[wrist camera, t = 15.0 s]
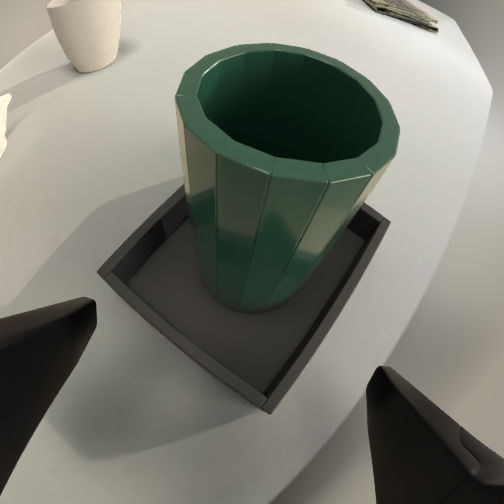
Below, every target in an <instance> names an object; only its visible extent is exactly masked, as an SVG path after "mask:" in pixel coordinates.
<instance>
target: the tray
mask: <svg viewBox="0 0 504 504" xmlns="http://www.w3.org/2000/svg"><path fill="white" fill-rule="evenodd" d="M390 223H391V222H390V221H389V220H388V219H386V218H385V217H383V216H382V215H381V214H380V213H378V212H377V211H375V210H374V209H373V208H371V207H370V206H368V205H367V204H366V203H363V204H362V206H361V207H360V209H359V210H358V211H357V213H356V214H355V216H354V217H353V218H352V220H351V221H350V223H349V224H348V225H347V227H346V228H345V230H344V231H343V232H342V234H341V235H340V237H339V238H338V239H337V241H336V242H335V243H334V245H333V246H332V247H331V249H330V250H329V251H328V253H327V254H326V255H325V257H324V258H323V260H322V261H321V262H320V263H319V265H318V266H317V267H316V269H315V270H314V271H313V273H312V274H311V275H310V277H309V278H308V279H307V281H306V282H305V283H304V284H303V286H302V287H301V288H300V290H299V291H298V292H297V293H296V294H295V295H294V296H293V297H292V298H291V299H290V300H289V301H288V302H287V303H285V304H284V305H282V306H281V307H279V308H277V309H275V310H272V311H270V312H266V313H260V314H246V313H240V312H236V311H233V310H231V309H228V308H226V307H225V306H223V305H221V304H220V303H218V302H217V301H216V300H215V299H214V298H213V297H212V296H211V295H210V294H209V293H208V292H207V290H206V289H205V287H204V285H203V284H202V281H201V279H200V276H199V272H198V268H197V265H196V259H195V253H194V247H193V240H192V234H191V227H190V221H189V214H188V207H187V200H186V192H185V185H184V184H183V185H182V186H181V187H180V188H179V189H178V190H177V191H176V192H175V193H174V194H173V195H172V196H171V197H170V198H168V199H167V200H166V201H165V202H164V203H163V204H162V205H161V206H160V207H159V208H158V209H157V210H156V211H155V212H154V213H153V214H152V215H151V216H150V217H149V218H148V219H147V220H146V221H145V222H144V223H143V224H142V225H141V226H140V227H139V228H138V229H137V230H136V231H135V232H134V233H133V234H132V235H131V236H130V237H129V238H128V239H127V240H126V241H125V242H124V243H123V244H122V245H121V246H120V247H119V248H118V249H117V250H116V251H115V252H114V253H113V255H112V256H111V257H110V258H109V259H108V260H107V261H106V262H105V263H104V264H103V265H102V266H101V267H100V269H99V270H98V271H97V273H98V274H99V275H100V276H101V277H102V278H103V279H104V280H105V281H106V283H107V284H108V285H109V286H110V287H111V288H112V289H113V290H114V291H115V292H116V293H117V294H118V295H119V296H120V297H121V298H123V299H124V300H125V301H126V302H127V303H128V304H129V305H130V306H131V307H132V308H133V309H134V310H135V311H137V312H138V313H139V314H140V315H141V316H142V317H143V318H144V319H145V320H147V321H148V322H149V323H150V324H151V325H152V326H153V327H154V328H156V329H157V330H158V331H159V332H160V333H161V334H163V335H164V336H165V337H166V338H167V339H168V340H170V341H171V342H172V343H173V344H174V345H176V346H177V347H178V348H179V349H180V350H182V351H183V352H184V353H185V354H187V355H188V356H189V357H190V358H191V359H193V360H194V361H195V362H197V363H198V364H199V365H200V366H202V367H203V368H204V369H205V370H207V371H208V372H209V373H211V374H212V375H213V376H215V377H216V378H217V379H219V380H220V381H221V382H223V383H224V384H225V385H227V386H228V387H229V388H231V389H232V390H233V391H235V392H236V393H238V394H239V395H240V396H242V397H243V398H245V399H246V400H248V401H249V402H250V403H252V404H253V405H255V406H256V407H258V408H259V409H261V410H262V411H264V412H266V413H268V414H272V412H273V411H274V410H275V408H276V407H277V406H278V404H279V403H280V402H281V400H282V399H283V398H284V396H285V395H286V394H287V392H288V391H289V389H290V388H291V387H292V385H293V384H294V382H295V381H296V380H297V378H298V377H299V375H300V374H301V372H302V371H303V370H304V368H305V367H306V365H307V364H308V362H309V361H310V359H311V358H312V356H313V355H314V353H315V352H316V350H317V349H318V347H319V346H320V344H321V343H322V341H323V340H324V338H325V337H326V335H327V334H328V332H329V330H330V329H331V327H332V326H333V324H334V322H335V321H336V319H337V318H338V316H339V314H340V313H341V311H342V309H343V308H344V306H345V305H346V303H347V301H348V300H349V298H350V296H351V294H352V293H353V291H354V289H355V288H356V286H357V284H358V282H359V281H360V279H361V277H362V275H363V274H364V272H365V270H366V268H367V267H368V265H369V263H370V261H371V259H372V257H373V256H374V254H375V252H376V250H377V248H378V246H379V244H380V243H381V241H382V239H383V237H384V235H385V233H386V231H387V229H388V227H389V225H390Z"/></svg>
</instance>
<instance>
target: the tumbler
mask: <svg viewBox="0 0 504 504" xmlns="http://www.w3.org/2000/svg"><path fill="white" fill-rule="evenodd" d="M175 105H176V115H177V125H178V135H179V144H180V153H181V161H182V169H183V177H184V185H185V192H186V200H187V207H188V214H189V221H190V227H191V234H192V240H193V247H194V253H195V259H196V265H197V268H198V272H199V276H200V279H201V281H202V284H203V285H204V287H205V289H206V290H207V292H208V293H209V294H210V295H211V296H212V297H213V298H214V299H215V300H216V301H217V302H218V303H220V304H221V305H223V306H225V307H226V308H228V309H231V310H233V311H236V312H240V313H246V314H260V313H266V312H270V311H272V310H275V309H277V308H279V307H281V306H282V305H284V304H285V303H287V302H288V301H289V300H290V299H291V298H292V297H293V296H294V295H295V294H296V293H297V292H298V291H299V290H300V288H301V287H302V286H303V284H304V283H305V282H306V281H307V279H308V278H309V277H310V275H311V274H312V273H313V271H314V270H315V269H316V267H317V266H318V265H319V263H320V262H321V261H322V260H323V258H324V257H325V255H326V254H327V253H328V251H329V250H330V249H331V247H332V246H333V245H334V243H335V242H336V241H337V239H338V238H339V237H340V235H341V234H342V232H343V231H344V230H345V228H346V227H347V225H348V224H349V223H350V221H351V220H352V218H353V217H354V216H355V214H356V213H357V211H358V210H359V209H360V207H361V206H362V204H363V203H364V201H365V200H366V199H367V197H368V196H369V194H370V193H371V191H372V190H373V188H374V187H375V186H376V184H377V183H378V181H379V180H380V178H381V177H382V175H383V174H384V172H385V171H386V169H387V168H388V166H389V165H390V163H391V162H392V160H393V159H394V157H395V155H396V153H397V147H398V141H399V135H400V126H399V124H398V121H397V119H396V116H395V114H394V111H393V109H392V106H391V104H390V103H389V101H388V100H387V98H386V97H385V96H384V95H383V94H382V93H381V92H380V91H379V90H378V89H377V87H376V86H375V85H374V84H373V83H372V82H371V81H370V80H368V79H367V78H366V77H364V76H363V75H361V74H360V73H358V72H357V71H355V70H354V69H352V68H351V67H349V66H347V65H346V64H344V63H343V62H341V61H339V60H337V59H334V58H332V57H329V56H326V55H324V54H321V53H318V52H315V51H313V50H310V49H306V48H302V47H296V46H289V45H283V44H275V43H272V44H271V43H260V44H245V45H238V46H233V47H229V48H226V49H223V50H220V51H217V52H214V53H211V54H208V55H206V56H205V57H203V58H202V59H201V60H199V61H198V62H197V63H195V64H194V65H193V66H192V67H190V68H189V69H188V70H187V71H185V73H184V75H183V77H182V80H181V82H180V85H179V88H178V90H177V93H176V95H175Z"/></svg>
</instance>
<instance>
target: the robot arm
mask: <svg viewBox="0 0 504 504" xmlns="http://www.w3.org/2000/svg"><path fill="white" fill-rule="evenodd" d="M96 326H97V312H96V302H95V301H94V300H92V299H90V298H87V297H81V298H77V299H73V300H69V301H66V302H62V303H58V304H54V305H50V306H47V307H43V308H39V309H35V310H31V311H28V312H24V313H20V314H16V315H12V316H9V317H5V318H1V319H0V495H1V493H2V491H3V489H4V487H5V485H6V483H7V481H8V479H9V477H10V476H11V474H12V472H13V470H14V468H15V466H16V464H17V462H18V460H19V458H20V456H21V455H22V453H23V451H24V449H25V447H26V446H27V444H28V442H29V440H30V439H31V437H32V435H33V433H34V432H35V430H36V428H37V427H38V425H39V423H40V422H41V420H42V418H43V417H44V415H45V413H46V412H47V410H48V408H49V407H50V405H51V404H52V402H53V400H54V399H55V397H56V396H57V394H58V393H59V391H60V389H61V388H62V386H63V385H64V383H65V382H66V380H67V379H68V377H69V376H70V374H71V373H72V371H73V369H74V368H75V366H76V365H77V363H78V361H79V359H80V357H81V356H82V354H83V352H84V350H85V348H86V346H87V344H88V342H89V340H90V338H91V336H92V335H93V333H94V331H95V329H96ZM366 398H367V425H368V435H369V442H370V449H371V458H372V465H373V474H374V483H375V492H376V503H377V504H504V459H503V458H502V457H501V456H499V455H498V454H497V453H495V452H494V451H492V450H491V449H489V448H488V447H487V446H485V445H484V444H482V443H481V442H480V441H479V440H477V439H476V438H475V437H473V436H472V435H471V434H470V433H469V432H467V431H466V430H465V429H464V428H463V427H462V426H461V427H460V425H459V424H458V423H456V421H454V420H453V419H452V418H451V417H449V416H448V415H447V414H446V413H445V412H444V411H442V410H441V409H440V408H439V407H438V406H436V405H435V404H434V403H433V402H432V401H430V400H429V399H428V398H427V397H426V396H424V395H423V394H422V393H421V392H420V391H419V390H417V389H416V388H415V387H414V386H412V385H411V384H410V383H409V382H407V380H405V379H404V378H403V377H402V376H401V375H399V374H398V373H397V372H396V371H395V370H393V369H392V368H391V367H388V366H378V367H377V368H376V370H375V372H374V374H373V375H372V377H371V379H370V381H369V383H368V384H367V388H366Z"/></svg>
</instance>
